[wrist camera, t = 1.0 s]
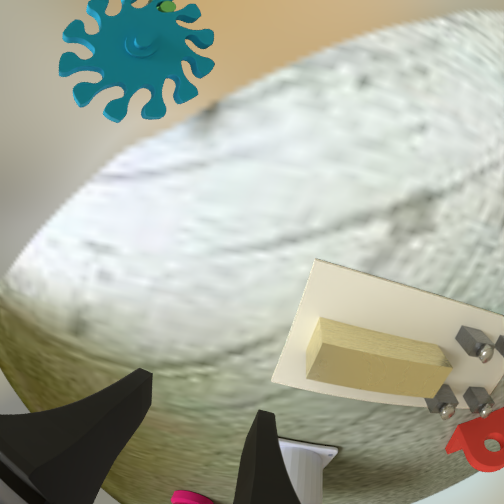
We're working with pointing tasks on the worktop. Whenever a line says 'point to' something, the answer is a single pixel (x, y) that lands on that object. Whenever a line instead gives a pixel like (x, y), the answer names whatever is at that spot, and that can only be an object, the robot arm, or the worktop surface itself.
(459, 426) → the bracket
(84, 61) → the gear
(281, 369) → the mat
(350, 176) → the worktop surface
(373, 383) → the sanding block
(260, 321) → the worktop surface
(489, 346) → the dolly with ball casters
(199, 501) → the pepper mill
